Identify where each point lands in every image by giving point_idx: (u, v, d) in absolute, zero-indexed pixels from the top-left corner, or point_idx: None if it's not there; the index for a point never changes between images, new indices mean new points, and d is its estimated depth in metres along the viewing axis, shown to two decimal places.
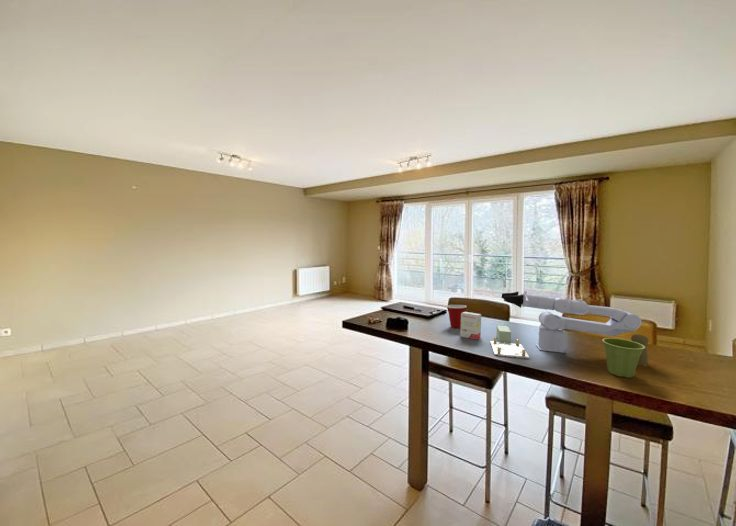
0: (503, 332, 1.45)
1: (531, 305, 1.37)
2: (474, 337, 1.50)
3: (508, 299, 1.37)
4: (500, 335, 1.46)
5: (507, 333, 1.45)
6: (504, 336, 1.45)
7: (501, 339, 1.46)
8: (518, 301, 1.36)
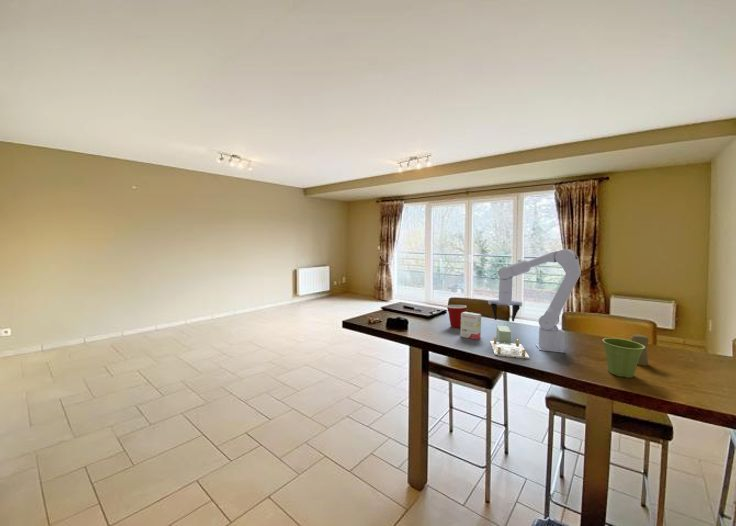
0: (503, 332, 1.46)
1: (500, 296, 1.48)
2: (474, 337, 1.50)
3: (494, 315, 1.51)
4: (500, 335, 1.46)
5: (507, 333, 1.45)
6: (504, 336, 1.46)
7: (501, 339, 1.46)
8: None
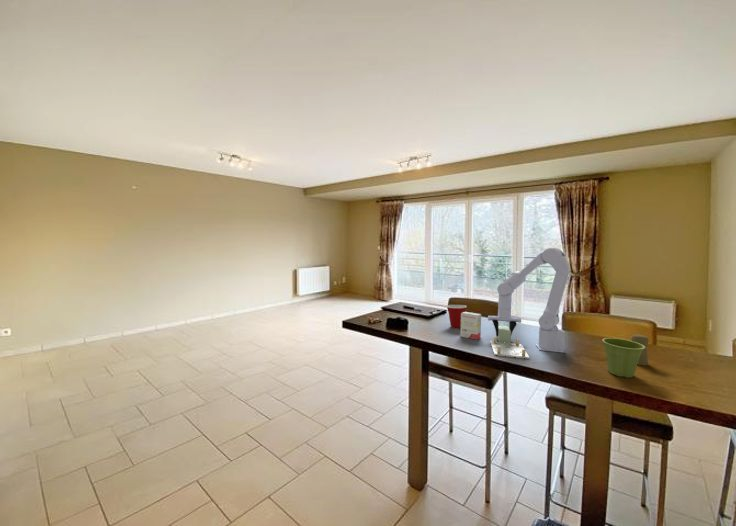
0: (503, 332, 1.46)
1: (499, 312, 1.49)
2: (474, 337, 1.50)
3: (496, 331, 1.51)
4: (500, 335, 1.46)
5: (507, 333, 1.45)
6: (504, 336, 1.46)
7: (501, 339, 1.46)
8: None
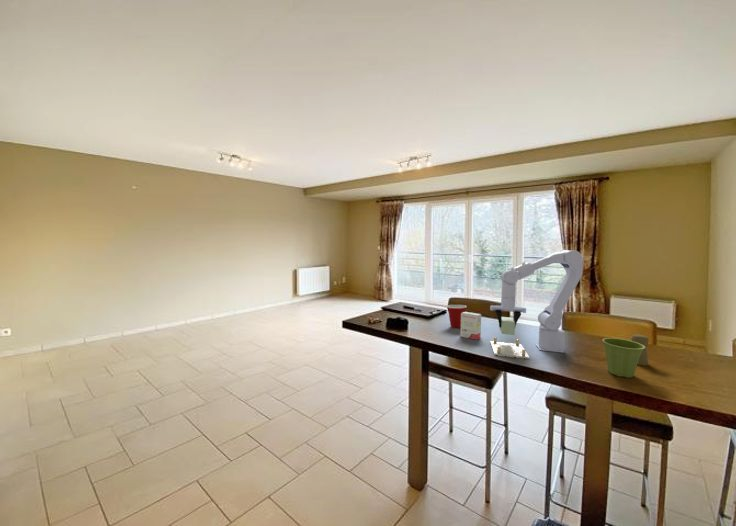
0: (506, 323, 1.36)
1: (503, 302, 1.39)
2: (474, 337, 1.50)
3: (499, 322, 1.41)
4: (503, 326, 1.37)
5: (511, 324, 1.36)
6: (507, 327, 1.36)
7: (504, 330, 1.37)
8: None
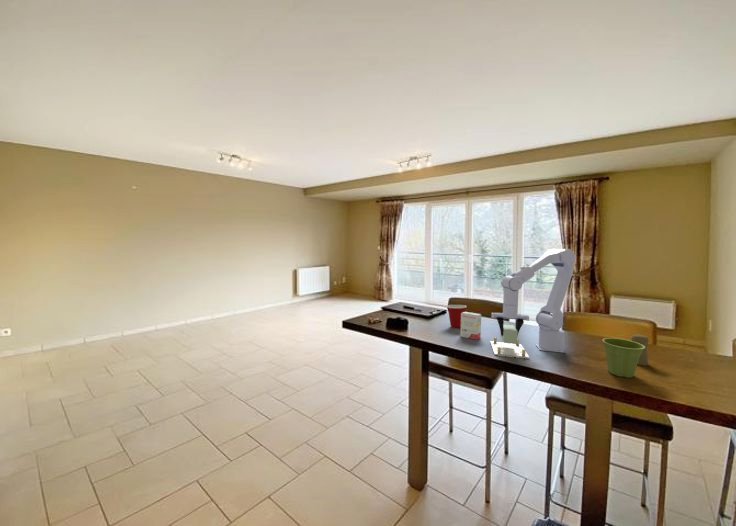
0: (508, 331, 1.30)
1: (505, 309, 1.33)
2: (474, 337, 1.50)
3: (500, 330, 1.35)
4: (505, 334, 1.31)
5: (513, 332, 1.30)
6: (509, 336, 1.30)
7: (506, 339, 1.31)
8: None
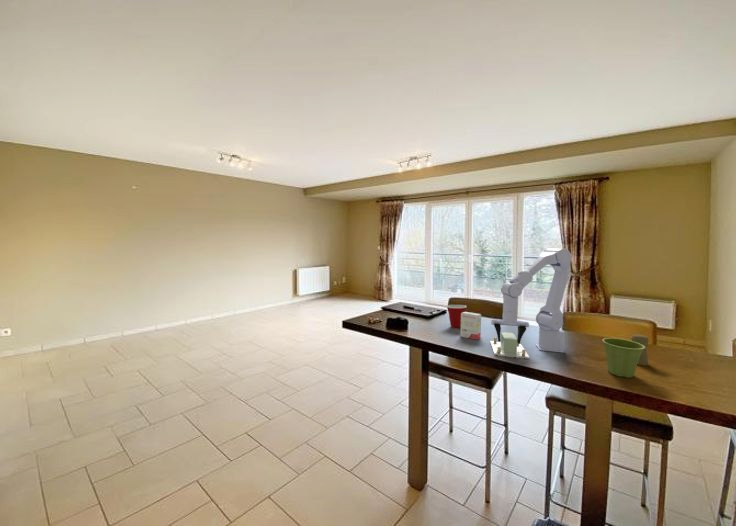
0: (508, 340, 1.31)
1: (504, 316, 1.33)
2: (474, 337, 1.50)
3: (498, 336, 1.36)
4: (505, 343, 1.31)
5: (513, 341, 1.30)
6: (509, 344, 1.31)
7: (506, 347, 1.31)
8: None
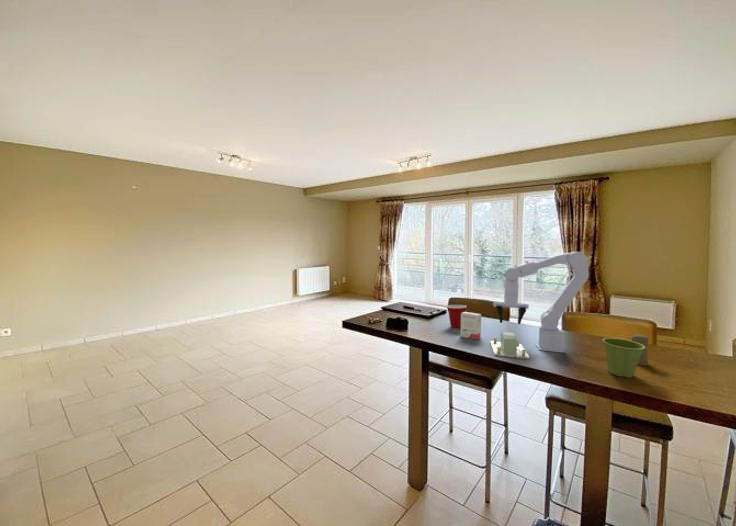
0: (508, 340, 1.31)
1: (506, 298, 1.43)
2: (474, 337, 1.50)
3: (500, 318, 1.45)
4: (505, 343, 1.31)
5: (513, 341, 1.30)
6: (509, 344, 1.31)
7: (506, 347, 1.31)
8: None
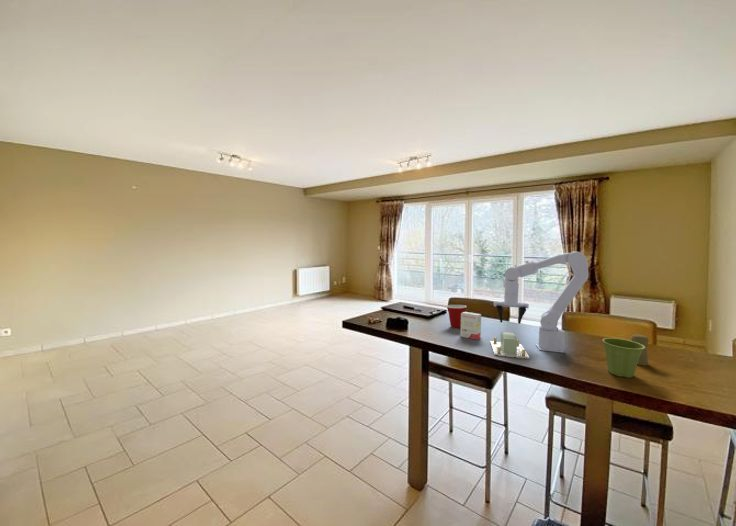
0: (508, 340, 1.31)
1: (506, 298, 1.44)
2: (474, 337, 1.50)
3: (500, 317, 1.46)
4: (505, 343, 1.31)
5: (513, 341, 1.30)
6: (509, 344, 1.31)
7: (506, 347, 1.31)
8: None
